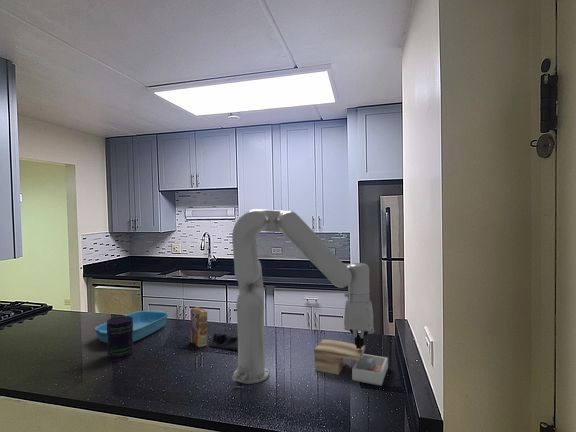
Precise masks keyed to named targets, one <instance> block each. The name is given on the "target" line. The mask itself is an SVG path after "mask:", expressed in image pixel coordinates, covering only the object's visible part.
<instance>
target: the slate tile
mask: <svg viewBox="0 0 576 432" xmlns="http://www.w3.org/2000/svg"><path fill="white" fill-rule="evenodd" d="M374 364H375V362H374V358H360V360H359V361H358V363H357V365H358V369H372V368H373V366H374Z"/></svg>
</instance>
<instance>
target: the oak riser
mask: <svg viewBox="0 0 576 432" xmlns="http://www.w3.org/2000/svg"><path fill="white" fill-rule="evenodd" d="M313 351H314V353H313V354H314V371H319V372H322V373H328V374H333V375H340V374H341V372H342V370H343V369H344V367H345V366H346V364H347V363H346V360H350V361H351V360H352V361H359V360H360V358H361V356H362V354H365V351H366V344H364V346H362V348H361V349H359V348H358V349H356V345H355V342H354V343H352V342H346V341H339V340H334V339H333V340H332V339H325V338H323V339H322V340H321V341H320V342H319V343H318V344H317V345H316V347H315V348H314V350H313Z"/></svg>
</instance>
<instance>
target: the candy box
mask: <svg viewBox="0 0 576 432" xmlns="http://www.w3.org/2000/svg"><path fill="white" fill-rule="evenodd" d="M190 342H191V344H193V345H195V346H196V347H198V348H202V347H206V346H207V347H208V311H207V310H205V309H203V308H201V307H193V308H190Z"/></svg>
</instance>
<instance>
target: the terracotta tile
mask: <svg viewBox="0 0 576 432" xmlns="http://www.w3.org/2000/svg"><path fill="white" fill-rule="evenodd" d="M381 368H382V366H378V365H374V366H373V368H372V369H365V370H368V371H374V372H379V373H380V370H381Z"/></svg>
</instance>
